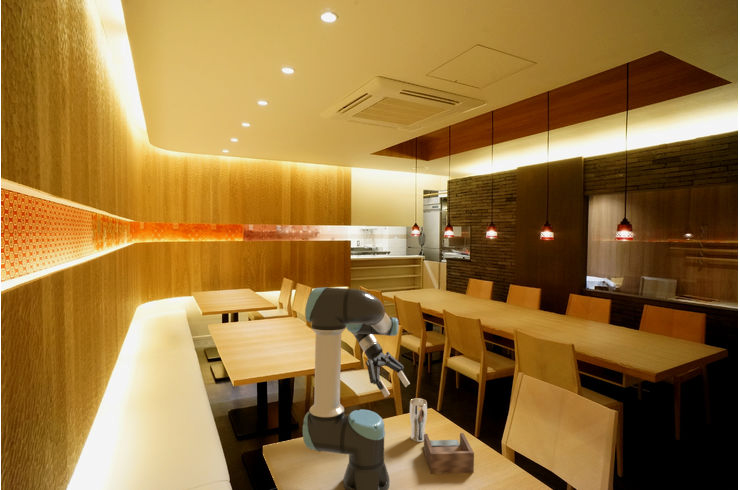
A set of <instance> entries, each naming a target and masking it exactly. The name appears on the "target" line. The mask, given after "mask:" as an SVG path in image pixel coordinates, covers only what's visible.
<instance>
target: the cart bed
mask: <svg viewBox="0 0 740 490" xmlns="http://www.w3.org/2000/svg"><path fill="white" fill-rule="evenodd" d="M423 453H424V457H425V460H426V462H427V466H428V469H429V472H430V474H431V475H432V474H436V475H437V474H458V473H459V474H463V473H474V471H475V470H474V469H475V463H474V462H475V461H474V460H475V452H474V451H473V449H472V447H471V445H470V443H469V441H468V439H467V437H466V435H465V434H464V432H460V433H459V440H458V439H440V440H439V439H437V440H435V439H433V440H430V437H429V435H428V433H425V434H424V441H423Z"/></svg>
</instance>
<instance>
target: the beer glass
mask: <svg viewBox="0 0 740 490" xmlns="http://www.w3.org/2000/svg"><path fill="white" fill-rule="evenodd" d="M427 418H428V402H427V400H426V399H423V398H421V397H418V398H417V397H415V398H412V399H410V401H409V419H410V426H411V433H410V439H411V441H413V442H416V443H421V442H422V443H424V434H426V423H427Z"/></svg>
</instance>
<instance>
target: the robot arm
mask: <svg viewBox="0 0 740 490" xmlns="http://www.w3.org/2000/svg"><path fill="white" fill-rule="evenodd" d="M304 316H305V320H306V322H308V323H310V324H311V325H310V326H311V330H312V331H313V332H314V333H315V349H314V359H315V360H314V393H313V395H314V398H313V399H314V400H313V401H314V402H313V404H312V405H311V407H310V408H309V411H308V412H306V414H305V415H304V418H303V424H302V438H303V442H304V444H305V446H306V448H308V449H309V450H313V451H317V452H319V453H320V452H325V453H332V454H344V455H348V463H347V466H346V469H345V473H344V476H343V489H344V488H345V489H344V490H389V489H390V476H389V472H388V469H387V466H386V463H385V436H386V432H385V423H384V419H383V417H381V416H380V415H379V414H378V413H377V412H375V411H372V410H369V409H359V410H357V409H355V410H353V411H351V412H350V414H345V407H344V406H343V405H342V404H341V361H342V358H341V357H342V353H341V352H342V333H343V332H344V331H345V330H347V331H348V332H350V333H351V334H353V337H355V339H356V341H357V342H358V345H359V346H360V348H361V349H362V351H363V352H364V354H365V357H366V358H367V360H366V361H365V365H366V366H367V372H368V373H367V374H368V377H369V383H370V384H373V385H376V386H377V388H378V389H379V391H381V393H382V396H383V397H384V398H388V397H389V395H390V394H391V393H390V391H389V390H388V388H387V386H386V385H385V383H384V382H383V380H382V379H380V374H381V373H380V372H381V371H380V370H381V369H380V368H381V367H387V368H389V369H391V370H392V371H394V372H397V374H396V375H397V376H398V379H400V381H401V383H402V384H403V386H404V387H405V388H407V387H408V386H409V385H410V384H411V383H410V381H409V380H408V378H407V376H406V374H405V373H404V368H405V366H404V365H403V364H402V363H401V362H399V361H398V360H397V359H396V358H395V357H394V356H393V355H392V354H391V353H390V352H389V351H387V352H385V353H384V352H383V348H382V346H381V344H380V343H379V342H378V339H377V338H376V337H375V335H378V336H389V337H390V336H391V337H393V336H397V335H398V334H399V333H398V332H399V319H398V318H397V317H393V316H389V315H388V314H387V312H386V308H385V305H384V304H383V302H382V301H381V299H379V298H378V297H377V296H375V295H373V294H371V293H370V292H368V291H367V290H366V291H365V290H363V289H359V288H343V287H342V288H341V287H340V288H339V287H328V286H325V287H316V288H313V290H312V291H310V293H309V295H308V298H307V300H306V304H305V310H304Z"/></svg>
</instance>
